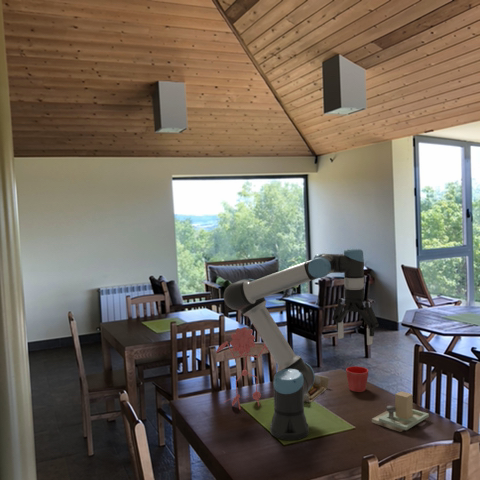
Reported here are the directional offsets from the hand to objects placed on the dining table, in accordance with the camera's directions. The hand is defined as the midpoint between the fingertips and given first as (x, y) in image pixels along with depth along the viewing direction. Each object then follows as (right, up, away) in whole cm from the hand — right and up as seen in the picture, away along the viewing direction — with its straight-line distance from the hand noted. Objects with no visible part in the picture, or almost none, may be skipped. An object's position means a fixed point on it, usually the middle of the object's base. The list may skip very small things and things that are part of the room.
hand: (355, 341), depth 195 cm
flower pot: (+11, -33, +44) cm, 56 cm away
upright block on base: (+21, -33, +5) cm, 39 cm away
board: (+19, -34, +7) cm, 40 cm away
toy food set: (-16, -34, +42) cm, 56 cm away
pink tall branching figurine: (-44, -35, +30) cm, 63 cm away
